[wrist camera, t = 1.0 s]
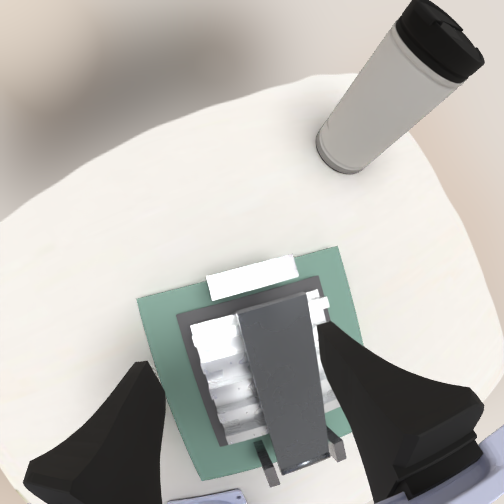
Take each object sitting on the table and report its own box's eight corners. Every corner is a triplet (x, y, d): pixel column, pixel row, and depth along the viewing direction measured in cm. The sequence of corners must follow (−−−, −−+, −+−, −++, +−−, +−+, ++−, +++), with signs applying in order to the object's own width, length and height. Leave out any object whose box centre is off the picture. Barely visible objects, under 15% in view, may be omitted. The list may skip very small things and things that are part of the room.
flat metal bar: (325, 452, 19) (330, 459, 18) (279, 469, 19) (283, 477, 18) (301, 290, 17) (307, 294, 16) (234, 309, 16) (238, 315, 15)
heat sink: (341, 428, 24) (365, 448, 19) (240, 464, 22) (247, 493, 17) (297, 256, 25) (318, 246, 21) (182, 287, 24) (176, 284, 19)
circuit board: (370, 414, 26) (382, 422, 23) (201, 473, 22) (201, 486, 20) (330, 248, 28) (342, 243, 25) (140, 298, 24) (133, 298, 22)
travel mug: (304, 128, 29) (394, -21, 10) (353, 122, 31) (454, 4, 11) (325, 179, 29) (456, 46, 9) (375, 170, 30) (504, 67, 11)
